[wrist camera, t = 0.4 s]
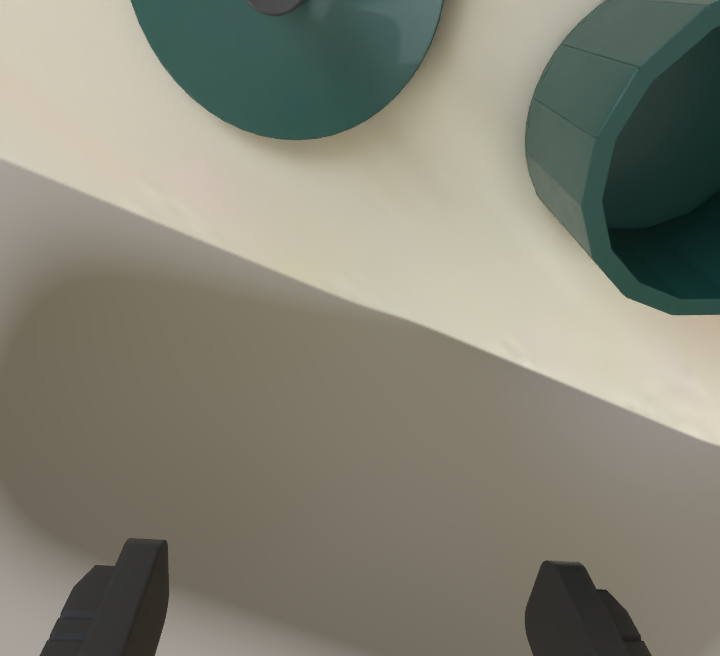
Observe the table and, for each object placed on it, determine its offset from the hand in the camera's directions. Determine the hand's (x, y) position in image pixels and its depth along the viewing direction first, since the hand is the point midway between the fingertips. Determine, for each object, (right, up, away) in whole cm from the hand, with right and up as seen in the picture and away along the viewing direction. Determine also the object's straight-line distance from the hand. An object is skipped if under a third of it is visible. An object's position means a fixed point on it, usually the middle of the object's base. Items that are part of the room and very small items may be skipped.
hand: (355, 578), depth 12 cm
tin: (+15, +16, +16) cm, 27 cm away
